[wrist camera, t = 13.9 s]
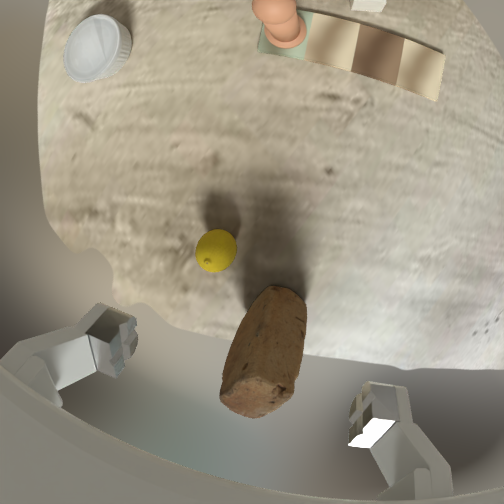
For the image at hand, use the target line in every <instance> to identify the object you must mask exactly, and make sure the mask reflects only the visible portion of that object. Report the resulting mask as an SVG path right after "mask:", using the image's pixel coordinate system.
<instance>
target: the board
mask: <svg viewBox="0 0 504 504" xmlns="http://www.w3.org/2000/svg"><path fill="white" fill-rule="evenodd" d="M296 12H297V15H298V16H299V17H301V18H302V19H303V21H304V23H305V25H306V30H307V33H306V37H305V39H304V41H303V42H302V43H301V44H300V45H298V46H296V47H294V48H290V49H283V48H279V47H276V46H274V45H273V44H272V43H271V42H270V41H269V40H268V39H267V37H266V35H265V32H264V27H265V25H264V23H263V27H262V31H261V36H260V41H259V46H258V50H257V51H258V52H261V53H267V54H274V55H280V56H285V57H291V58H296V59H301V60H306V61H310V62H315V63H319V64H323V65H328V66H332V67H336V68H339V69H343V70H347V71H350V72H354V73H357V74H361V75H364V76H367V77H371V78H374V79H377V80H380V81H383V82H386V83H389V84H392V85H395V86H397V87H400V88H403V89H405V90H408V91H411V92H413V93H416V94H418V95H421V96H423V97H426V98H428V99H431V100H433V101H437V100H438V95H439V90H440V85H441V80H442V74H443V69H444V63H445V56H446V55H444V54H441V53H439V52H437V51H435V50H432V49H430V48H428V47H425V46H423V45H420V44H418V43H416V42H413V41H410V40H408V39H405V38H402V37H400V36H397V35H394V34H391V33H388V32H385V31H382V30H379V29H376V28H373V27H369V26H366V25H363V24H359V23H356V22H352V21H348V20H344V19H340V18H336V17H332V16H327V15H323V14H318V13H313V12H308V11H302V10H296Z"/></svg>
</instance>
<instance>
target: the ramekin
mask: <svg viewBox="0 0 504 504" xmlns="http://www.w3.org/2000/svg"><path fill="white" fill-rule="evenodd" d="M131 45H132V40H131V35H130V33H129V30H127V28H126V27H125V26H124V25H122V24H121V23H119V22H118V21H117V20H116V19H115V18H113V17H112V16H109V15H106V14H96V15H93V16H90V17H88V18H86V19H85V20H83V21H82V22H81V23H79V24H78V25H77V27H76V28H75V29H74V30H73V32H72V33H71V35H70V36H69V38H68V40H67V43H66V46H65V50H64V56H63V57H64V67H65V70H66V72H67V74H68V76H69V77H70V78H71V79H73V80H75V81H77V82H81V83H88V82H93V81H95V80H98V79H103V78H107V77H110V76H112V75H113V74H115V73H116V72H118V71H119V70H120V69H121V68H122V66H123V65H124V64H125V62H126V61H127V59H128V57H129V54H130V51H131Z"/></svg>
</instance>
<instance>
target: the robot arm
mask: <svg viewBox="0 0 504 504" xmlns="http://www.w3.org/2000/svg"><path fill="white" fill-rule="evenodd" d="M136 326H137V321H136V318H135V317H134V316H132V315H129V314H127V313H124V312H122V311H120V310H117V309H115V308H113V307H110V306H107V305H105V304H103V303H101V302H100V303H97V304H96V305H95V306H94V307H93V308H92V309H91V310H90V311H89V312H88V313H87V314H86V315H85V316H84V317H83V318H82V319H81V320H80V321H79V322H78V323H77V324H76V325H75V326H74V327H71V326H69V327H66V328H63V329H59V330H56V331H53V332H49V333H47V334H43V335H40V336H37V337H33V338H30V339H26V340H23V341H20V342H17V343H16V344H15V345H14V346H13V347H12V349H10V350H9V351H8V353H7V354H6V355H5V356H4V357H3V358H2V359H1V360H0V504H504V486H503V487H499V488H495V489H490V490H486V491H480V492H475V493H470V494H464V495H456V496H454V493H453V485H452V476H451V469H450V466H449V464H448V463H447V462H446V461H445V459H444V458H443V457H442V456H441V454H440V453H439V452H438V450H436V448H435V447H434V445H433V444H432V443H431V442H430V440H429V439H428V438H427V437H426V435H425V434H424V433H423V432H422V430H421V429H420V428H419V426H418V425H417V424H413V420H412V414H411V408H410V402H409V396H408V391H407V388H406V387H402V386H395V385H389V384H382V383H376V382H369V381H367V382H366V383H365V384H364V385H363V386H362V393H360V394H358V395H356V397H355V398H354V400H353V401H352V404H351V407H350V411H349V420H350V422H351V423H352V427H351V428H350V429H349V445H350V446H357V447H365V448H370V451H371V452H372V454H373V456H374V458H375V460H376V462H377V464H378V466H379V468H380V470H381V471H382V473H383V475H384V477H385V479H386V481H387V482H388V485H389V488H388V489H386V490H385V491H383V492H382V493H380V494H379V495H378V496H377V501H367V500H366V501H365V500H346V499H332V498H321V497H313V496H306V495H298V494H292V493H286V492H279V491H274V490H269V489H264V488H259V487H255V486H250V485H246V484H242V483H238V482H233V481H230V480H226V479H223V478H219V477H216V476H212V475H209V474H206V473H202V472H199V471H196V470H193V469H190V468H187V467H184V466H181V465H179V464H176V463H173V462H170V461H168V460H165V459H163V458H160V457H158V456H155V455H152V454H150V453H148V452H145V451H143V450H141V449H138V448H136V447H134V446H131V445H129V444H127V443H125V442H123V441H120V440H119V439H117V438H114V437H112V436H110V435H108V434H106V433H104V432H103V431H101V430H98V429H97V428H95V427H93V426H91V425H89V424H87V423H86V422H84V421H82V420H80V419H79V418H77V417H75V416H73V415H72V414H70V413H68V412H67V411H65V410H63V409H62V408H60V407H61V406H62V405H63V404H62V399H61V398H60V395H59V393H58V390H60V389H61V388H64V387H66V386H67V385H69V384H71V383H74V382H76V381H78V380H80V379H81V378H83V377H86V376H88V375H90V374H92V373H94V372H96V370H98V371H100V372H102V373H105V374H107V375H109V376H111V377H114V378H117V377H118V375H119V374H120V372H121V371H122V370H123V368H124V367H125V363H124V360H126V359H129V358H131V356H132V355H133V354H134V352H135V349H136V347H137V343H138V334H137V332H136V331H135V330H134V328H135V327H136Z"/></svg>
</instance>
